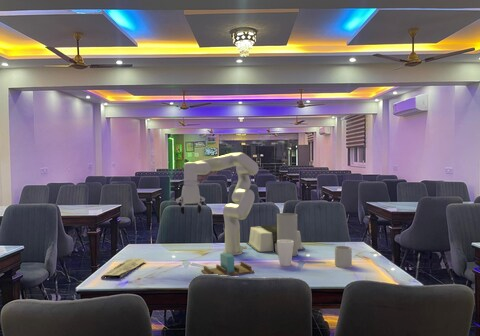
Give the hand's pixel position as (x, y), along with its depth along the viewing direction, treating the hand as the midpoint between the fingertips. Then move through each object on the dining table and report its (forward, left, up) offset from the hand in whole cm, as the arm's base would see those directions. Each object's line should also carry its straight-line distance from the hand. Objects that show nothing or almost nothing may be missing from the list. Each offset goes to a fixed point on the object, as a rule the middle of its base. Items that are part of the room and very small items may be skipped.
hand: (191, 213), depth 215 cm
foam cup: (-46, +28, -28) cm, 61 cm away
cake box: (-64, -16, -29) cm, 73 cm away
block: (-11, +28, -27) cm, 41 cm away
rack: (-11, +28, -28) cm, 41 cm away
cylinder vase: (-59, +9, -28) cm, 66 cm away
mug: (-74, +44, -28) cm, 91 cm away
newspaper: (+36, -1, -29) cm, 47 cm away
